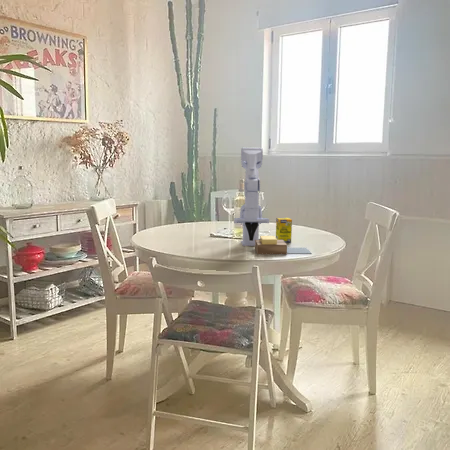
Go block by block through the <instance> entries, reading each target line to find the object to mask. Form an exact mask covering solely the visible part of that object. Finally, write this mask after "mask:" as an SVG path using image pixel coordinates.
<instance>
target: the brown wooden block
mask: <svg viewBox="0 0 450 450" xmlns="http://www.w3.org/2000/svg"><path fill="white" fill-rule="evenodd" d="M287 248H288V244H287V243H285V242H284V241H283V240H277V244H262V243H261V241H260V239H259V240H255V246H254V250H255V252H256V254H257V255H258V254H261V255H287ZM261 255H260V256H261Z"/></svg>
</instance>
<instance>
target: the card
mask: <svg viewBox="0 0 450 450" xmlns="http://www.w3.org/2000/svg"><path fill="white" fill-rule="evenodd" d="M259 240H260V241H261V243H262V244H277V239H276V235H259Z"/></svg>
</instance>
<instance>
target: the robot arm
mask: <svg viewBox="0 0 450 450" xmlns="http://www.w3.org/2000/svg"><path fill="white" fill-rule="evenodd" d="M263 151H264V149H263V148H262V146H261V147H244V146H242V147H241V148H240V158H241V159H240V163H241V167H242V168H243V169H245V172H244V173H245V175H244V177H245V178H244V182H243V183H244V185H243V186H244V187H243V188H244V189H243V192H244V204H242V205H241V207H240V211H239V217H234V218H233V223H234V224H241V225H242V240H240V244H241V246H243V247H245V246H248V247H251V246H252V247H253V246H254V247H255V240H260V235H259V234H260V233H259V232H260V231H259V230H260V225H261V224H270V218H269V217H268V218H267V217H266V218H265V217H263V211H262V210H263V208H262V206H261V205H259V204H260V203H259V202H260V201H259V200H260V192H261V180H260V172H259V169H260V168H262V165H263V157H264V152H263Z"/></svg>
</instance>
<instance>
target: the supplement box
mask: <svg viewBox="0 0 450 450" xmlns="http://www.w3.org/2000/svg"><path fill="white" fill-rule="evenodd" d="M275 220H276V222H275V238H276V239H277V240H283V241H284V242H285V243H286V244H287V243H288V244H289V243H292V235H293V234H292V230H293V219H292V218H290V217H276V219H275Z"/></svg>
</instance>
